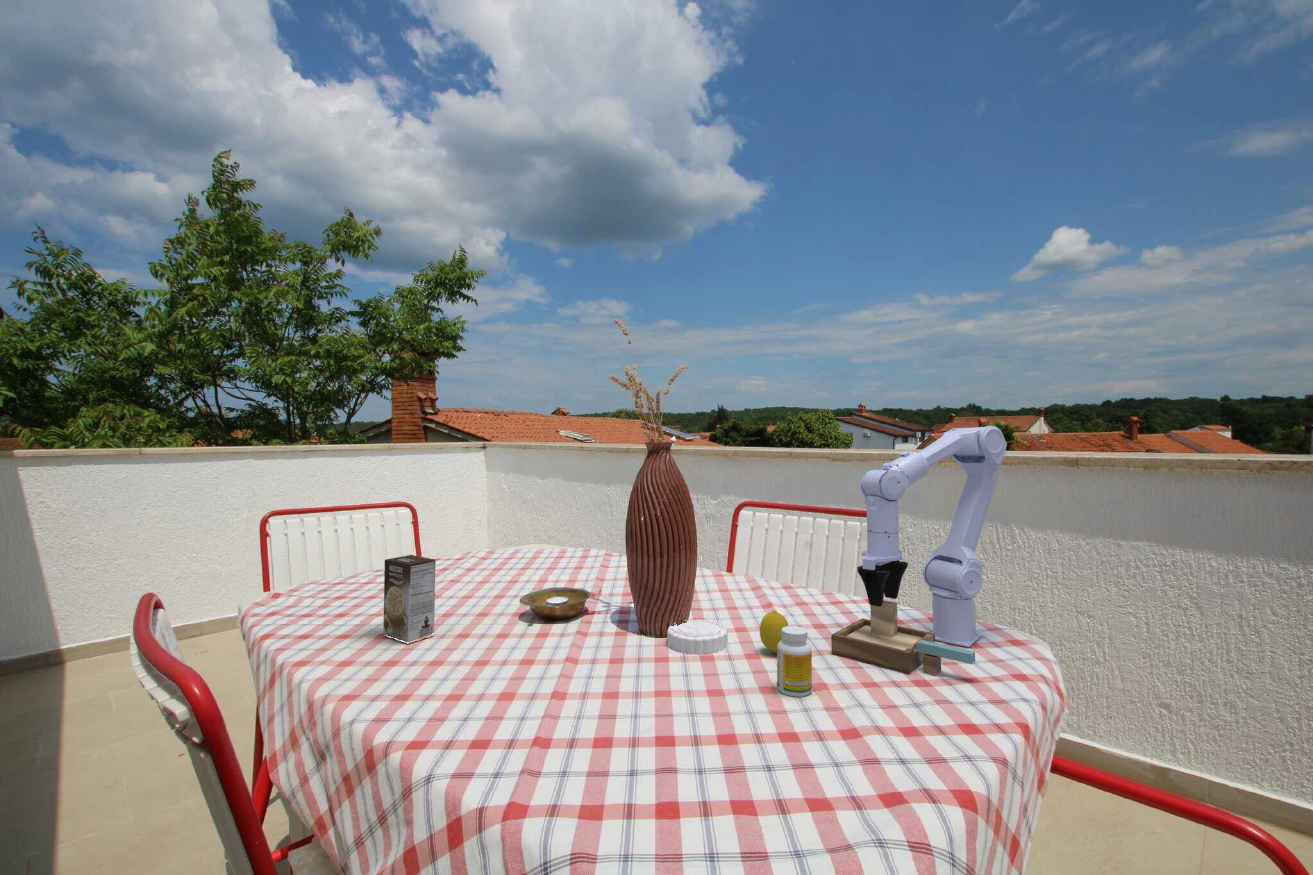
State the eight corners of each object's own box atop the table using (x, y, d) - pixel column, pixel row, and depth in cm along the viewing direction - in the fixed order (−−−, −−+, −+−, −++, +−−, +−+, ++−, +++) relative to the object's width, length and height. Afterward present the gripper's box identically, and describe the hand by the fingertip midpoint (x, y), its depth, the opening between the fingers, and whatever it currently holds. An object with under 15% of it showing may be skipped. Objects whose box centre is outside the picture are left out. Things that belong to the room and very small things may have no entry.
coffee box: (381, 637, 113) (382, 559, 113) (409, 628, 118) (410, 554, 119) (407, 645, 108) (408, 563, 108) (436, 636, 113) (437, 558, 114)
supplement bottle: (770, 687, 88) (770, 627, 88) (796, 680, 90) (796, 622, 91) (792, 700, 83) (791, 637, 84) (819, 693, 86) (818, 632, 86)
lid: (866, 628, 111) (865, 595, 111) (925, 641, 103) (925, 606, 103) (841, 641, 103) (840, 606, 103) (903, 657, 95) (903, 619, 95)
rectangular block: (921, 648, 96) (921, 639, 96) (975, 661, 91) (975, 651, 91) (917, 651, 95) (917, 642, 95) (971, 664, 89) (971, 654, 89)
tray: (862, 635, 113) (862, 618, 113) (955, 657, 101) (955, 637, 101) (831, 653, 103) (831, 634, 103) (930, 680, 91) (930, 658, 91)
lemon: (790, 659, 100) (790, 615, 100) (759, 657, 101) (759, 613, 101) (789, 649, 105) (788, 607, 106) (760, 647, 106) (759, 605, 107)
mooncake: (740, 647, 107) (740, 629, 107) (692, 660, 100) (692, 641, 100) (701, 631, 117) (701, 614, 117) (655, 642, 110) (655, 624, 110)
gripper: (877, 526, 114) (877, 591, 114) (846, 533, 104) (847, 604, 104) (912, 529, 110) (913, 597, 109) (883, 537, 99) (884, 612, 99)
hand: (883, 601), depth 106 cm, fingers open, 7 cm apart
